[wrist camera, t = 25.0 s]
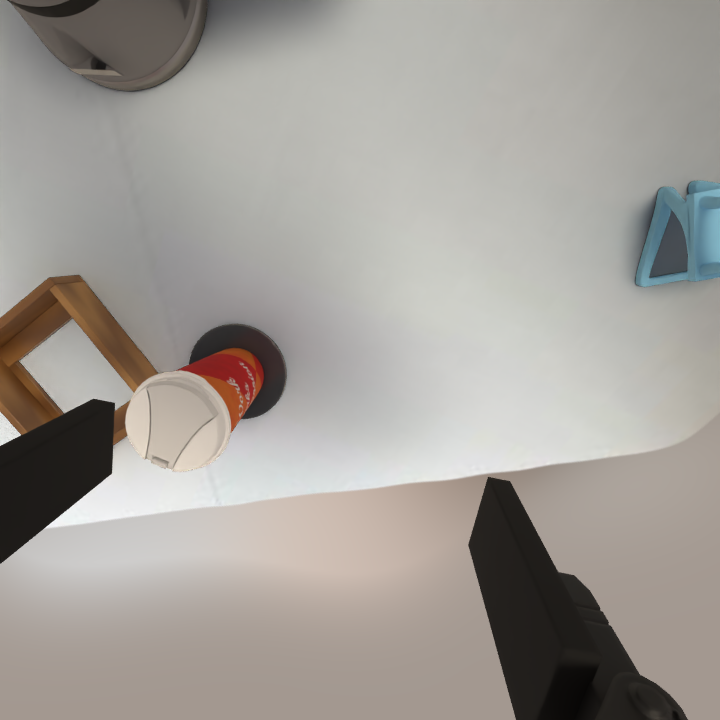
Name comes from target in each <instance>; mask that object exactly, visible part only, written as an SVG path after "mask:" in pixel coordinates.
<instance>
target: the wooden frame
mask: <svg viewBox="0 0 720 720" xmlns="http://www.w3.org/2000/svg"><path fill="white" fill-rule="evenodd" d="M72 318H73V319H74V320H75V321H76V323H77V324H78V325H79V326H80V327H81V329H82V330H83V331H84V332H85V334H86V335H87V336H88V337H89V338H90V340H91V341H92V342H93V343H94V345H95V346H96V347H97V348H98V349H99V351H100V352H101V353H102V354H103V355H104V357H105V358H106V359H107V360H108V362H109V363H110V364H111V365H112V366H113V368H114V369H115V370H116V371H117V373H118V374H119V375H120V376H121V377H122V379H123V380H124V381H125V382H126V383H127V385H128V386H129V387H130V388H131V390H132V391H133V392H135V391H136V389H137V388H138V387H139V386H140V385H141V384H142V383H143V382H144V381H146V380H147V379H148V378H150V377H152V376H154V375H157V374H158V373H157V371H156V370H155V369H154V368H153V366H152V365H151V364H150V363H149V361H148V360H147V359H146V358H145V356H144V355H143V354H142V353H141V351H140V350H139V349H138V348H137V346H136V345H135V344H134V343H133V341H132V340H131V339H130V338H129V336H128V335H127V334H126V333H125V331H124V330H123V329H122V328H121V326H120V325H119V324H118V323H117V321H116V320H115V319H114V318H113V316H112V315H111V314H110V313H109V311H108V310H107V309H106V308H105V306H104V305H103V304H102V303H101V301H100V300H99V299H98V298H97V297H96V295H95V294H94V293H93V292H92V290H91V289H90V288H89V287H88V285H87V284H86V283H85V282H84V281H83V279H82V278H81V277H80V276H79V275H73V276H61V277H49V278H48V279H47V280H45V281H44V282H43V283H42V284H41V285H39V286H38V287H37V288H36V289H35V290H33V291H32V292H31V293H30V294H29V295H27V296H26V297H25V298H24V299H23V300H21V301H20V302H19V303H18V304H17V305H15V306H14V307H13V308H12V309H11V310H9V311H8V312H7V313H6V314H5V315H3V316H2V317H1V318H0V412H1V413H2V414H3V415H4V416H5V417H6V418H7V419H8V421H9V422H10V423H11V424H12V425H13V426H14V427H15V428H16V429H17V431H18V432H19V433H20V434H21V435H23V434H25V433H27V432H29V431H31V430H33V429H35V428H37V427H39V426H41V425H43V424H45V423H47V422H49V421H51V420H53V419H55V418H57V417H59V416H61V415H63V414H64V413H63V412H62V411H61V410H60V409H59V407H58V406H57V405H56V404H55V403H54V402H53V400H52V399H51V398H50V397H49V396H48V395H47V394H46V392H45V391H44V390H43V389H42V388H41V387H40V385H39V384H38V383H37V382H36V381H35V380H34V379H33V377H32V376H31V375H30V374H29V373H28V372H27V370H26V369H25V368H24V367H23V366H22V365H21V363H20V362H19V360H20V359H22V358H23V357H24V356H25V355H27V354H28V353H29V352H31V351H32V350H33V349H34V348H36V347H37V346H38V345H39V344H41V343H42V342H43V341H44V340H46V339H47V338H48V337H49V336H51V335H52V334H53V333H54V332H56V331H57V330H58V329H59V328H61V327H62V326H63V325H64V324H66V323H67V322H68V321H70V320H71V319H72ZM130 401H131V400H130ZM130 401H129V402H127V403H126V404H124V405H123V406H122V407H120V408H119V409H117V410H116V411H115V413H114V437H113V445H114V444H116V443H117V442H119V441H120V440H122V439H123V438H124V437H126V436H127V432H126V425H125V419H126V412H127V408H128V406H129V403H130Z"/></svg>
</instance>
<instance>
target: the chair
mask: <svg viewBox="0 0 720 720" xmlns="http://www.w3.org/2000/svg"><path fill="white" fill-rule="evenodd" d="M688 192H689V195H686V196H687V201H685V200H684V199H683V198H682V197H681V196H680V195H679V194H678V192H677V191H676V190H675V189H674V188H673V187H662V188H661V189H660V190H659V192H658V196H657V201H656V206H655V210H654V215H653V218H652V222H651V225H650V229H649V232H648V235H647V239H646V242H645V245H644V249H643V252H642V255H641V259H640V262H639V266H638V270H637V274H636V285H638V286H642V287H648V286H653V285H659V284H664V283H670V282H675V281H681V280H686V279H688V281H695V282H696V281H701V280H707V279H713V278H718V277H720V183H714V182H708V181H692V182H691V183H690V184H689V187H688ZM671 211H673V212H674V213H675V215H676V216H677V218H678V220H679V221H680V223H681V225H682V228H683V230H684V234H685V238H686V244H687V252H688V271H685V272H679V273H674V274H668V275H663V276H657V277H652V278H649V275H650V271H651V268H652V265H653V263H654V260H655V257H656V254H657V251H658V248H659V246H660V243H661V240H662V237H663V234H664V232H665V229H666V226H667V223H668V220H669V217H670V214H671Z"/></svg>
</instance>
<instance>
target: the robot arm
mask: <svg viewBox="0 0 720 720" xmlns="http://www.w3.org/2000/svg"><path fill="white" fill-rule="evenodd" d="M8 1H9V2H11V4H12V5H13V6H14V7H15V9H16V10H17V11H18V12H19V13H20V15H21V16H22V17H23V18H24V20H25V21H26V22H27V23H28V25H29V26H30V27H31V28H32V29H33V31H34V32H35V33H36V34H37V36H38V37H39V38H40V39H41V41H42V42H43V43H44V44H45V46H46V47H47V48H48V49H49V50H50V51H51V52H52V53H53V54H54V56H56V57H57V58H58V59H59V60H60V61H61V62H62V63H64V64H65V65H66V66H68V67H69V68H71V69H70V70H72V71H74V72H75V73H77V74H81V75H82V76H84V77H86V78H88V79H89V80H91V81H93V82H95V83H97V84H100V85H102V86H105V87H108V88H112V89H116V90H124V91H134V90H142V89H147V88H150V87H153V86H156V85H158V84H160V83H162V82H164V81H166V80H167V79H169V78H170V77H172V76H173V75H174V74H176V73H177V72H178V71H179V70H180V69H181V68H182V67H183V66H184V65H185V63H186V62H187V61H188V60H189V58H190V57H191V55H192V54H193V52H194V50H195V48H196V46H197V44H198V42H199V40H200V37H201V35H202V32H203V28H204V25H205V20H206V15H207V7H208V0H8ZM114 413H115V403H112V402H107V401H102V400H97V399H92V400H90V401H88V402H86V403H84V404H82V405H80V406H78V407H76V408H74V409H72V410H70V411H68V412H66V413H64V414H63V415H61V416H59V417H57V418H55V419H53V420H51V421H49V422H47V423H45V424H43V425H41V426H39V427H37V428H35V429H33V430H31V431H29V432H27V433H25V434H23V435H21V436H19V437H17V438H15V439H13V440H11V441H9V442H7V443H5V444H3V445H1V446H0V563H2V562H3V561H5V560H6V559H7V558H8V557H9V556H11V555H12V554H13V553H14V552H16V551H17V550H18V549H19V548H21V547H22V546H23V545H24V544H25V543H27V542H28V541H29V540H30V539H32V538H33V537H34V536H35V535H36V534H38V533H39V532H40V531H42V530H43V529H44V528H45V527H46V526H48V525H49V524H50V523H51V522H53V521H54V520H55V519H56V518H58V517H59V516H60V515H61V514H63V513H64V512H65V511H66V510H67V509H69V508H70V507H71V506H72V505H74V504H75V503H76V502H77V501H79V500H80V499H81V498H82V497H83V496H85V495H86V494H87V493H88V492H90V491H91V490H92V489H93V488H95V487H96V486H97V485H98V484H100V483H101V482H102V481H103V480H104V479H106V478H107V477H108V476H109V475H111V474H112V460H113V437H114ZM469 549H470V553H471V556H472V560H473V563H474V567H475V571H476V574H477V578H478V582H479V586H480V589H481V593H482V597H483V600H484V604H485V608H486V611H487V615H488V618H489V622H490V626H491V630H492V633H493V637H494V640H495V644H496V648H497V651H498V655H499V659H500V663H501V666H502V670H503V674H504V677H505V681H506V684H507V688H508V692H509V696H510V699H511V703H512V706H513V710H514V714H515V717H516V720H688V719H687V717H686V716H685V714H684V712H683V710H682V708H681V707H680V706H679V705H678V704H677V702H676V701H675V700H674V699H673V698H672V697H671V696H670V695H669V694H668V693H667V692H666V691H664V690H663V689H662V688H661V687H660V686H658V685H657V684H656V683H654V682H652V681H650V680H648V679H647V678H645V677H643V676H641V675H640V674H639V672H638V671H637V669H636V668H635V666H634V664H633V662H632V661H631V659H630V657H629V656H628V654H627V652H626V651H625V649H624V647H623V645H622V644H621V642H620V641H619V639H618V637H617V636H616V634H615V632H614V630H613V629H612V627H611V626H610V625H609V624H608V623H609V622H608V620H607V619H606V617H605V615H604V613H603V612H602V611H600V607H599V605H598V603H597V602H596V600H595V598H594V597H593V595H592V593H591V592H590V590H589V589H587V588H586V587H585V586H584V585H583V584H582V583H581V582H580V581H579V580H578V579H577V578H576V577H575V576H574V575H569V574H565V573H559V572H558V571H557V569H556V567H555V565H554V564H553V562H552V560H551V558H550V556H549V554H548V552H547V550H546V548H545V547H544V545H543V543H542V541H541V539H540V537H539V536H538V533H537V531H536V529H535V528H534V526H533V524H532V522H531V520H530V518H529V516H528V514H527V513H526V511H525V509H524V507H523V505H522V503H521V501H520V499H519V497H518V495H517V494H516V492H515V490H514V488H513V486H512V484H511V482H510V481H506V480H500V479H495V478H491V477H488V479H487V482H486V486H485V489H484V493H483V496H482V500H481V503H480V506H479V510H478V514H477V517H476V520H475V524H474V527H473V531H472V534H471V537H470V541H469Z"/></svg>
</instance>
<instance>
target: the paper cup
mask: <svg viewBox="0 0 720 720" xmlns="http://www.w3.org/2000/svg"><path fill="white" fill-rule="evenodd" d="M263 380H264V372H263V368H262V365H261V363H260V362H259V360H258V359H257V358H256V357H255V356H254V355H253V354H252V353H250V352H249V351H247V350H244V349H240V348H230V349H226V350H223V351H220V352H217V353H215V354H213V355H210V356H208V357H206V358H203V359H201V360H199V361H196V362H194V363H192V364H190V365H187V366H185V367H183V368H181V369H178V370H176V371H172V372H164V373H160V374H157V375H154V376H152V377H150V378H148V379H147V380H146V381H144V382H143V383H142V384H141V385H140V386H139V387H138V388H137V389H136V391H135V392H134V394H133V396H132V398H131V401H130V403H129V406H128V408H127V412H126V419H125V425H126V432H127V435H128V438H129V440H130V443H131V444H132V446H133V448H134V449H135V450H136V452H137V453H138V454H139V455H140V456H141V457H142V458H143V459H148V460H151V463H153V464H155V465H158V466H160V467H162V468H165V469H166V468H169V469H173V471H174V472H182V471H189V470H193V469H197V468H201V467H204V466H206V465H208V464H210V463H212V462H213V461H215V460H216V459H217V458H218V457H219V456H220V455H221V454H222V452H223V451H224V450H225V448H226V446H227V444H228V442H229V438H230V434H231V432H232V431H233V429H234V428H235V427H236V425H237V424H238V422H239V421H240V419H241V418H242V416H243V415H244V414H245V412H246V411H247V409H248V408H249V406H250V405H251V403H252V402H253V400H254V399H255V397H256V396H257V394H258V393H259V391H260V389H261V387H262V384H263Z"/></svg>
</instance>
